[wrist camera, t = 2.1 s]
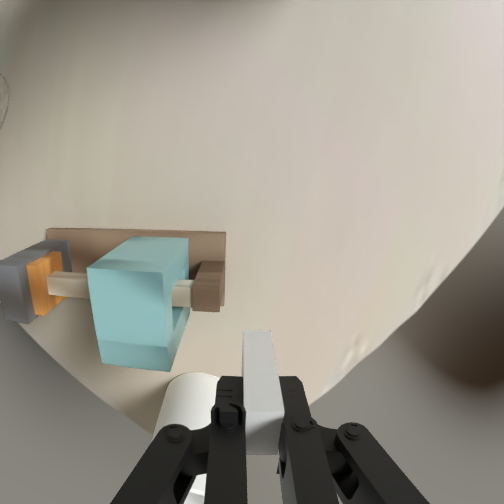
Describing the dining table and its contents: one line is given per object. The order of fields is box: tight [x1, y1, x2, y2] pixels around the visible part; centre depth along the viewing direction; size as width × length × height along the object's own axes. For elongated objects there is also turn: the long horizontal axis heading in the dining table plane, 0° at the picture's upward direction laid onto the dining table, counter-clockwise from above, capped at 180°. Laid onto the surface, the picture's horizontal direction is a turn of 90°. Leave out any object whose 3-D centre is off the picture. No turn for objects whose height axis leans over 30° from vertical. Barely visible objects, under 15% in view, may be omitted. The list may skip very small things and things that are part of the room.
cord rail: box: [0, 228, 226, 324], centre depth 25 cm, size 7×19×10 cm, turn 87°
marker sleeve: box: [87, 236, 190, 372], centre depth 23 cm, size 7×5×9 cm
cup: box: [150, 372, 220, 504], centre depth 27 cm, size 8×8×16 cm
